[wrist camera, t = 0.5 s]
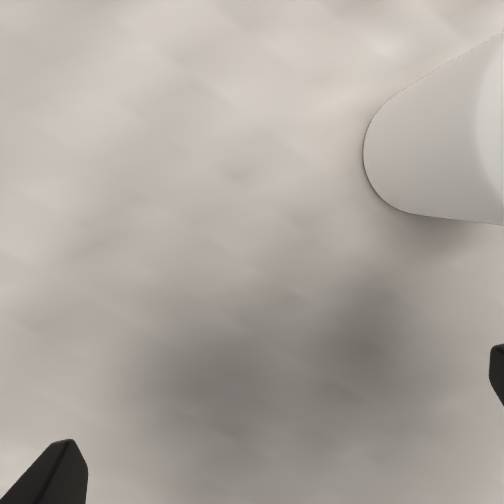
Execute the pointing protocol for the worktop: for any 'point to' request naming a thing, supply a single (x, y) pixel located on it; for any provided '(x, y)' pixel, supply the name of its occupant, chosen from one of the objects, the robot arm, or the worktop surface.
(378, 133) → the can
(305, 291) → the worktop surface
